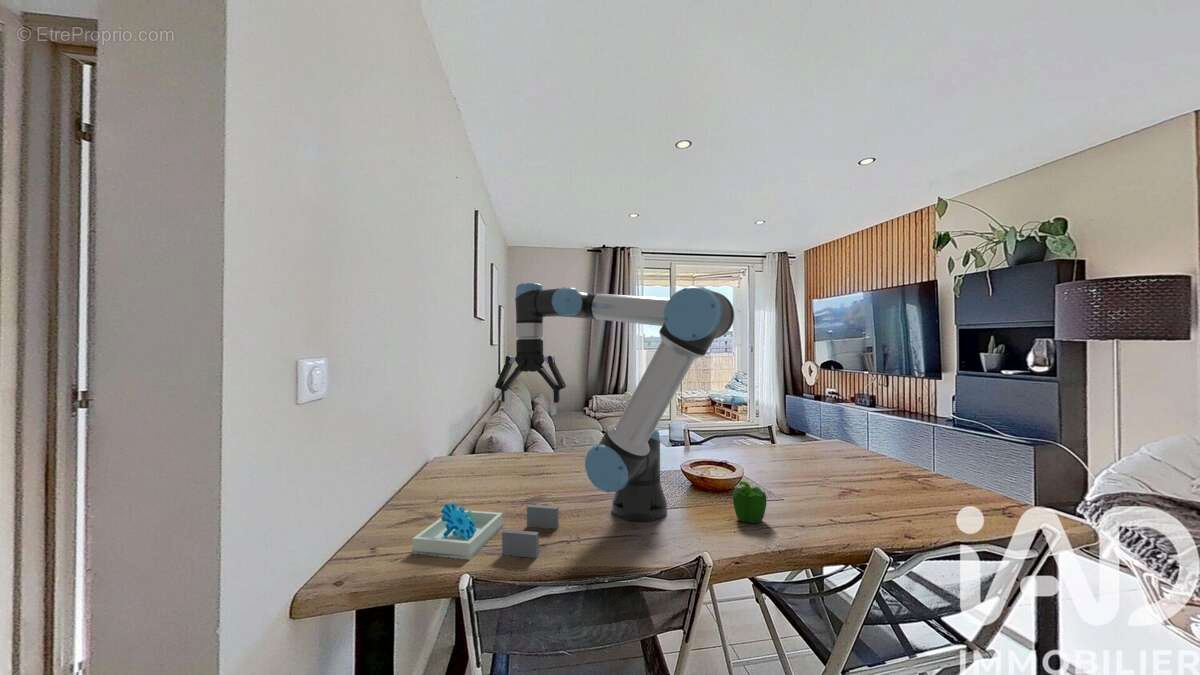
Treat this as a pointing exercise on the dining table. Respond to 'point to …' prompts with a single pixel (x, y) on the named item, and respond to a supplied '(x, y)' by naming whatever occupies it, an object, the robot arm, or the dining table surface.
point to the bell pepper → (749, 503)
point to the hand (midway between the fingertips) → (530, 414)
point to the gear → (458, 521)
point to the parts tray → (457, 537)
